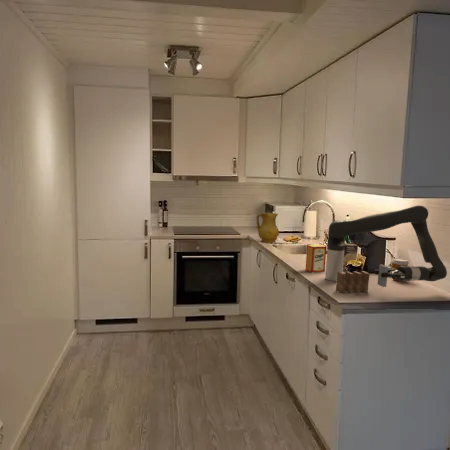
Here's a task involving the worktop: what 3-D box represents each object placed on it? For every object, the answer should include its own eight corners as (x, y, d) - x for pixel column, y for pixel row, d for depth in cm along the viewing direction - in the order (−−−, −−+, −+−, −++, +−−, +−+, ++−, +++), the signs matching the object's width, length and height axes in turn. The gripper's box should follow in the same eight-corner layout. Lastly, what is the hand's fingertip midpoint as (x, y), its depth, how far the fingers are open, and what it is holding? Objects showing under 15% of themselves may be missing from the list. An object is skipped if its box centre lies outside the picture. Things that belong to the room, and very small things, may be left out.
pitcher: (267, 243, 353) (268, 213, 352) (252, 241, 368) (254, 212, 367) (282, 243, 363) (284, 213, 362) (268, 240, 378) (269, 212, 377)
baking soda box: (318, 269, 268) (320, 244, 266) (324, 271, 262) (326, 245, 260) (305, 270, 264) (307, 244, 262) (311, 272, 258) (313, 246, 256)
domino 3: (354, 290, 223) (356, 271, 222) (359, 292, 218) (361, 273, 217) (351, 290, 222) (353, 271, 221) (356, 293, 218) (358, 273, 216)
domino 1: (338, 290, 221) (340, 271, 219) (343, 293, 216) (345, 273, 214) (335, 290, 220) (337, 271, 219) (340, 293, 215) (342, 273, 214)
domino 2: (346, 290, 222) (348, 271, 220) (351, 293, 217) (353, 273, 216) (343, 290, 221) (345, 271, 220) (348, 293, 216) (350, 273, 215)
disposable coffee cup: (400, 282, 242) (402, 262, 241) (385, 279, 250) (387, 258, 248) (410, 281, 247) (412, 260, 246) (396, 277, 255) (397, 257, 254)
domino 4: (362, 289, 224) (363, 271, 223) (367, 292, 219) (369, 273, 218) (359, 290, 223) (361, 271, 222) (364, 292, 219) (366, 273, 217)
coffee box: (341, 270, 268) (343, 244, 266) (338, 268, 274) (340, 243, 272) (356, 270, 268) (358, 245, 266) (352, 268, 274) (354, 243, 272)
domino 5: (380, 284, 216) (382, 264, 214) (386, 286, 211) (388, 266, 210) (377, 284, 215) (379, 264, 214) (383, 287, 211) (385, 266, 209)
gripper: (399, 262, 222) (370, 262, 218) (418, 269, 209) (387, 269, 204) (398, 277, 223) (369, 277, 219) (416, 284, 209) (386, 285, 205)
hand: (378, 273), depth 212 cm, fingers closed on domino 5, 5 cm apart
